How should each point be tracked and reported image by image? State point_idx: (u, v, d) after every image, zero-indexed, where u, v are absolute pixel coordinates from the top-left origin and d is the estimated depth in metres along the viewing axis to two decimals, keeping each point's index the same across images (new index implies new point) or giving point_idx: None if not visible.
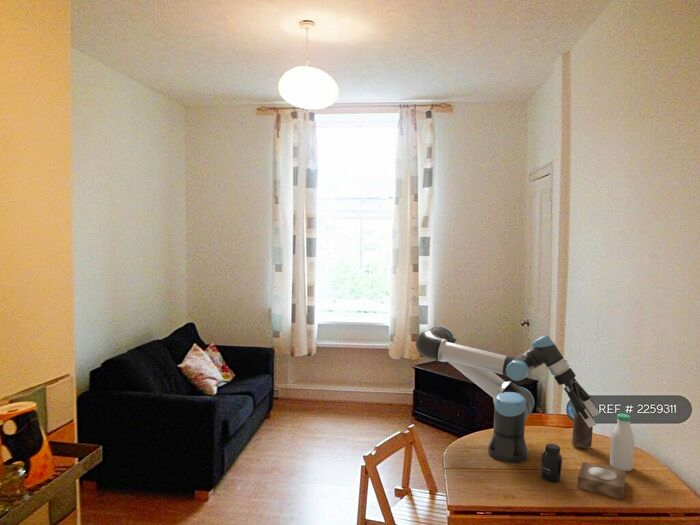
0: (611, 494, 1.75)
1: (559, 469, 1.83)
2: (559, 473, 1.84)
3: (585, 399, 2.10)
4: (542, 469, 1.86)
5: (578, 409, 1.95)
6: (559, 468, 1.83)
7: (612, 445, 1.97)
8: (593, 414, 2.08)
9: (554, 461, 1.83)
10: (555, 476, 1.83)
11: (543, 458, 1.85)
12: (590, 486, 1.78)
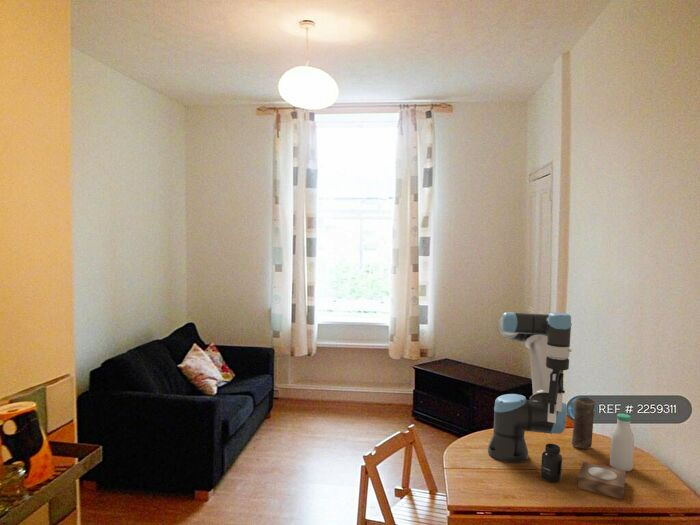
0: (611, 494, 1.75)
1: (559, 469, 1.83)
2: (559, 473, 1.84)
3: (558, 391, 1.91)
4: (542, 469, 1.86)
5: (550, 401, 1.76)
6: (559, 468, 1.83)
7: (612, 445, 1.97)
8: None
9: (554, 461, 1.83)
10: (555, 476, 1.83)
11: (543, 458, 1.85)
12: (590, 486, 1.78)
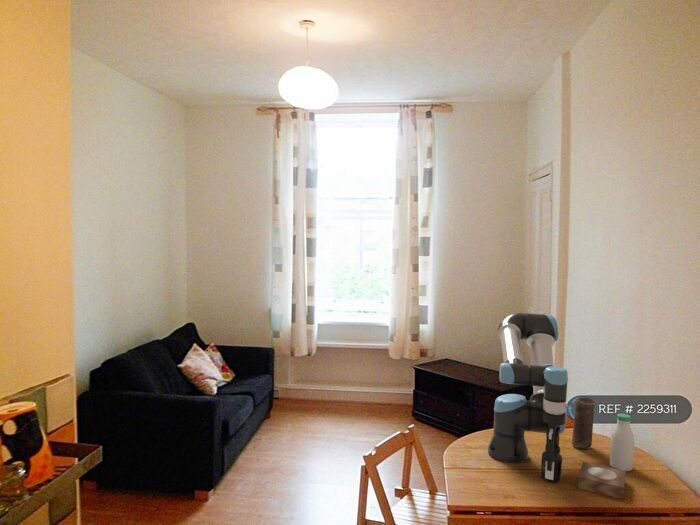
0: (611, 494, 1.75)
1: (559, 469, 1.83)
2: (559, 473, 1.84)
3: None
4: (542, 469, 1.86)
5: (548, 460, 1.80)
6: (559, 468, 1.83)
7: (612, 445, 1.97)
8: None
9: (554, 461, 1.83)
10: (555, 476, 1.83)
11: (543, 458, 1.85)
12: (590, 486, 1.78)
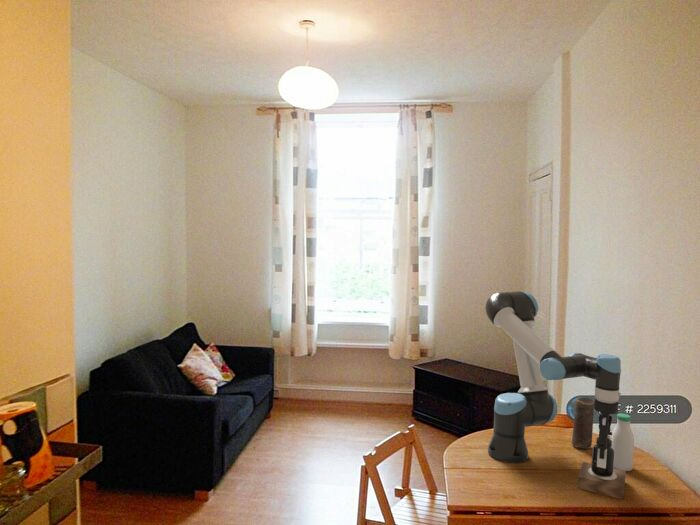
0: (611, 494, 1.75)
1: (611, 463, 1.79)
2: (611, 467, 1.80)
3: None
4: (593, 463, 1.82)
5: (601, 447, 1.73)
6: (611, 462, 1.79)
7: (612, 445, 1.97)
8: None
9: None
10: (607, 470, 1.79)
11: (594, 452, 1.82)
12: (590, 486, 1.78)
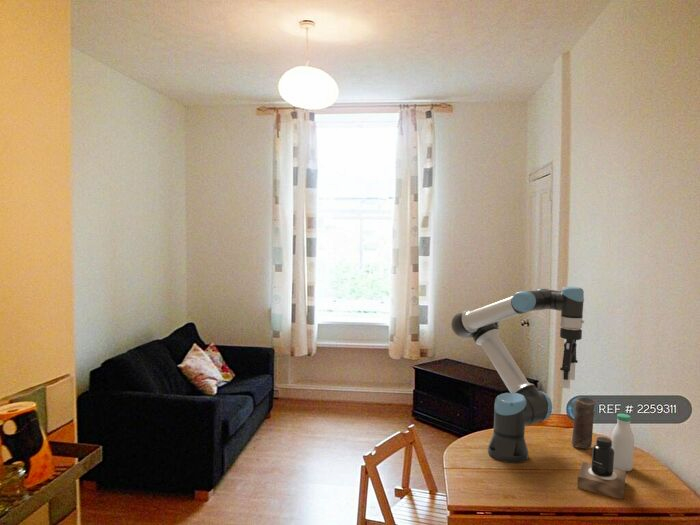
0: (611, 494, 1.75)
1: (611, 463, 1.79)
2: (611, 467, 1.80)
3: (571, 361, 2.04)
4: (593, 463, 1.82)
5: (565, 368, 1.89)
6: (611, 462, 1.79)
7: (612, 445, 1.97)
8: None
9: (606, 454, 1.79)
10: (607, 470, 1.79)
11: (594, 452, 1.82)
12: (590, 486, 1.78)
